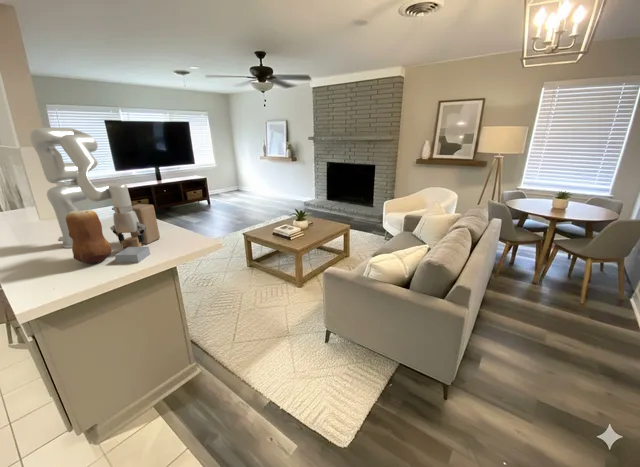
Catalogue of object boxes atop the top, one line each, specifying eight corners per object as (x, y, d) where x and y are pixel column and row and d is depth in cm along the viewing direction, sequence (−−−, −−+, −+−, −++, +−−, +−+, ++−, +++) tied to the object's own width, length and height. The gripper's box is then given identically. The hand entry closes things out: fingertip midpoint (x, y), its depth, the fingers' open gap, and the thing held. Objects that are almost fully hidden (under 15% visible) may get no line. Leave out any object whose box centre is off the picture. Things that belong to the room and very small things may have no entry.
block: (147, 244, 155) (139, 208, 148) (132, 243, 156) (123, 207, 150) (161, 238, 164) (154, 204, 157) (146, 237, 166) (138, 203, 159)
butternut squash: (104, 254, 143) (91, 205, 135) (119, 259, 137) (105, 208, 128) (71, 264, 132) (54, 211, 123) (85, 271, 125) (67, 215, 117)
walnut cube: (123, 252, 145) (120, 241, 143) (130, 248, 151) (128, 237, 149) (135, 252, 145) (132, 241, 143) (142, 247, 151) (139, 237, 149)
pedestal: (116, 263, 133) (114, 255, 131) (130, 254, 142) (128, 247, 141) (138, 262, 133) (136, 254, 132) (150, 254, 142) (148, 246, 141)
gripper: (100, 212, 137) (110, 245, 143) (136, 210, 137) (145, 244, 143) (111, 208, 144) (119, 240, 150) (145, 207, 144) (153, 239, 150)
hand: (132, 242), depth 146 cm, fingers open, 9 cm apart
